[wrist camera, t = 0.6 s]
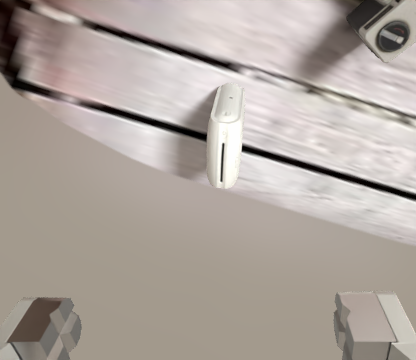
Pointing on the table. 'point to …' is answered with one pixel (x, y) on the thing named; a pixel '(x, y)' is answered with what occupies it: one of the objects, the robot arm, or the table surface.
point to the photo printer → (225, 136)
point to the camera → (385, 26)
